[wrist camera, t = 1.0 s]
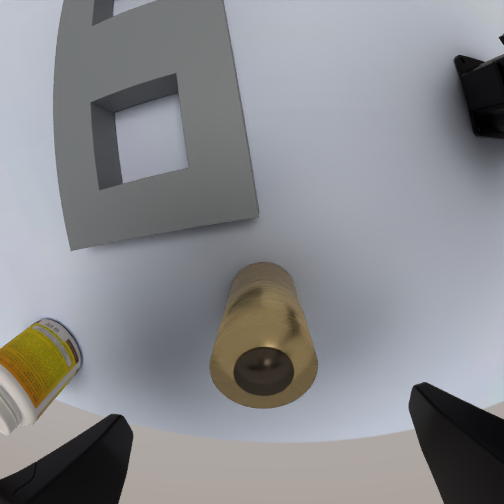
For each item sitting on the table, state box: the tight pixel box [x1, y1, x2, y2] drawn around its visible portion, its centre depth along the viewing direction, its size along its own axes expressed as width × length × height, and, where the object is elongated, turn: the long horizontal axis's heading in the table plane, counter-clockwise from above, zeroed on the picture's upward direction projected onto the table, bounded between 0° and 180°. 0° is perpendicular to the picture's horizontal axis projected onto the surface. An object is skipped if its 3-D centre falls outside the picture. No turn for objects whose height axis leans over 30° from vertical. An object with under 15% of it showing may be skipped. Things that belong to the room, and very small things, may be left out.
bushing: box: [210, 262, 318, 408], centre depth 14 cm, size 4×4×8 cm
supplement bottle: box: [0, 319, 81, 435], centre depth 15 cm, size 6×6×10 cm
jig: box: [53, 0, 259, 251], centre depth 13 cm, size 11×22×3 cm, turn 9°
